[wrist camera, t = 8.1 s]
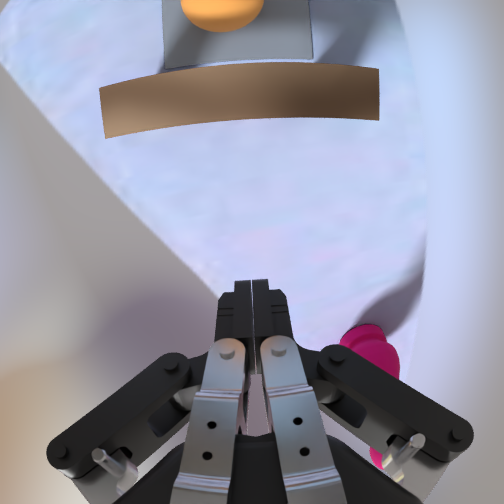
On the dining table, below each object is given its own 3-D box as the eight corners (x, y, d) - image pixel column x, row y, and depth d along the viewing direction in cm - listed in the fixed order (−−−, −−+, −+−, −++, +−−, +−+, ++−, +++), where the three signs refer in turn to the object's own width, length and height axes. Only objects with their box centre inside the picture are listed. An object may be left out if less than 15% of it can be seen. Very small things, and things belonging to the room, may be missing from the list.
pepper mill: (391, 317, 34) (454, 454, 17) (379, 354, 38) (424, 478, 20) (338, 324, 34) (385, 479, 17) (331, 362, 38) (364, 497, 20)
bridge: (150, 88, 21) (99, 88, 13) (330, 76, 21) (378, 68, 13) (153, 122, 23) (105, 138, 14) (331, 110, 22) (379, 120, 14)
